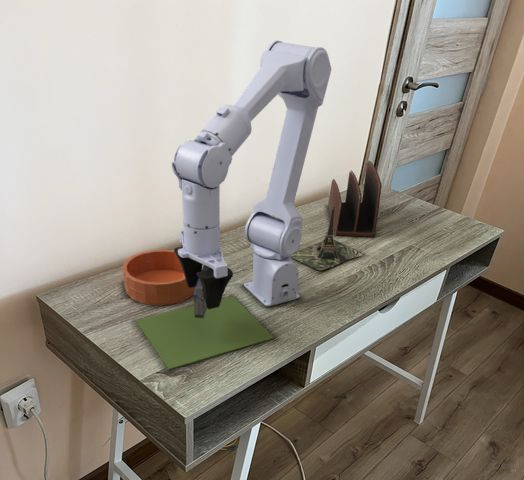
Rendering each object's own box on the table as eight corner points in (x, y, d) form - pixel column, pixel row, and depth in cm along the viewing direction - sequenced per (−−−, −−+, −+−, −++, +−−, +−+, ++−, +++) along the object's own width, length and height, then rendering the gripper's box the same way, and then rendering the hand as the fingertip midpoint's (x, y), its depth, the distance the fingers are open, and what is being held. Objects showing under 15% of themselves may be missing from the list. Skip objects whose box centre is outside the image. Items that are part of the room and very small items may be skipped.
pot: (209, 294, 106) (209, 274, 103) (139, 312, 100) (137, 290, 97) (181, 263, 116) (180, 244, 113) (115, 277, 110) (113, 257, 107)
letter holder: (363, 207, 148) (371, 156, 139) (374, 237, 132) (385, 181, 123) (327, 205, 147) (334, 154, 139) (334, 236, 132) (342, 179, 123)
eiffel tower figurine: (330, 239, 130) (338, 186, 122) (363, 254, 124) (373, 199, 116) (287, 257, 121) (292, 200, 113) (320, 273, 115) (327, 215, 107)
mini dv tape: (203, 293, 96) (202, 263, 93) (211, 294, 96) (211, 264, 93) (194, 318, 90) (193, 287, 86) (203, 318, 90) (202, 288, 86)
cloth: (273, 338, 95) (273, 337, 95) (169, 370, 86) (169, 368, 86) (232, 297, 106) (232, 295, 106) (135, 321, 97) (135, 320, 97)
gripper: (160, 209, 87) (165, 282, 95) (197, 244, 77) (199, 322, 85) (199, 203, 90) (201, 274, 98) (240, 236, 80) (238, 312, 88)
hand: (203, 296), depth 92 cm, fingers closed on mini dv tape, 7 cm apart
